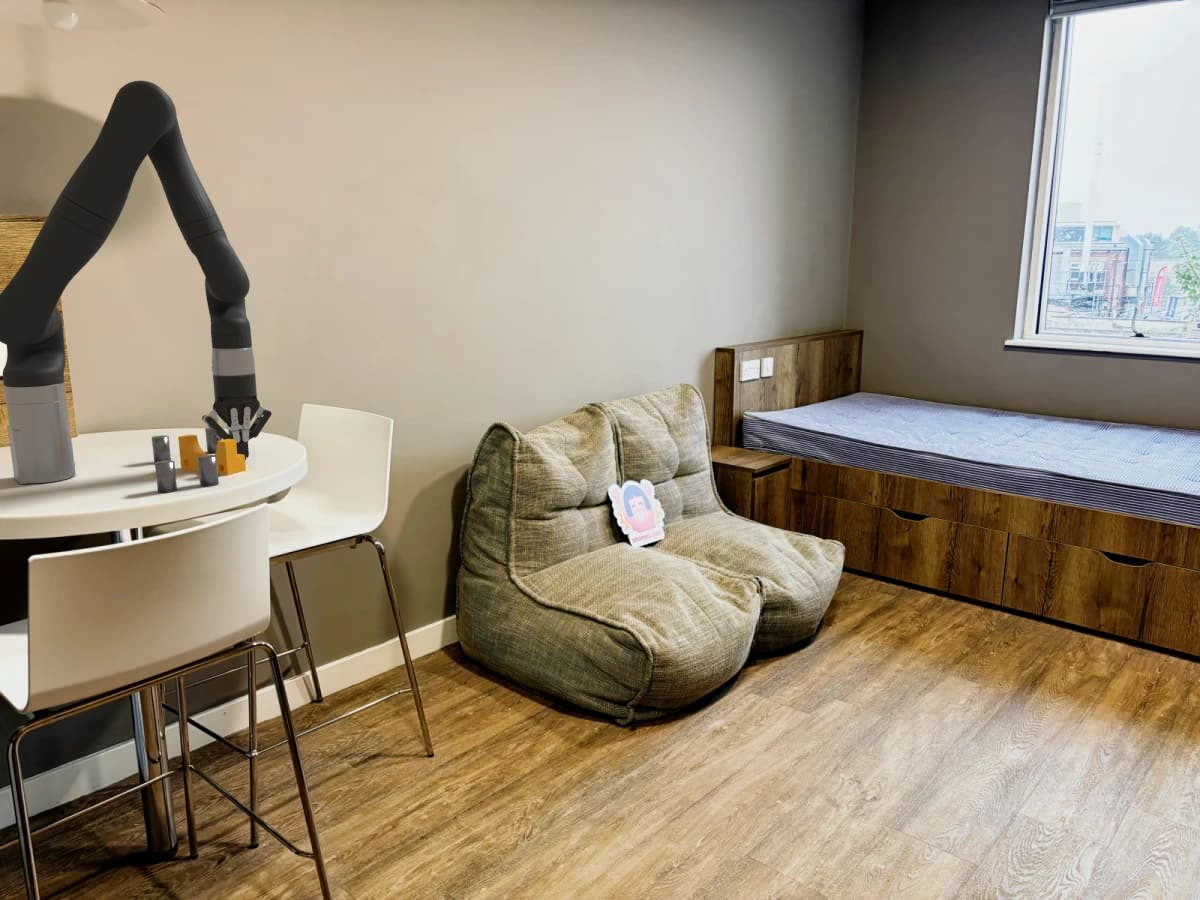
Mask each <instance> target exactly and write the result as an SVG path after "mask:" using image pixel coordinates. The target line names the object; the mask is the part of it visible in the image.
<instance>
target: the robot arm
mask: <svg viewBox="0 0 1200 900" xmlns="http://www.w3.org/2000/svg"><path fill="white" fill-rule="evenodd" d="M177 115H178V114H177V109H176V105H175V103H174V102H173V99H172V98H171V97H170V95H168V93H167V92H166V91H165V90H164V89H163V88H162V87H160V86H159V85H157V83H156V84H155V83H154V82H151V81H147V80H134V81H129V82H128V83H125V84H124V85H123V86H122V87H121V88H120V89H118V91H117V93H116V95H115V96H114V100H113V101H112V104H111V106H110V109H109V112H108V114H107V117H106V119H105V120H104V123H103V126H102V127H101V130H100V133H99V134H98V137H97V139H96V141H95V143H94V144H93V146H92V147H91V149H90V150H89V152H88V153H87V154H86V155H85V157H84V158H83V160H82V161H81V162H80V163H79V165H78V166H77V168H76V169H75V171H74V172H73V174H72V175H71V176H70V178H69V180H68V181H67V183H66V185H65V186H64V188H62V190H61V192H60V194H59V196H58V197H57V199H56V200H55V203H54V204H53V206H52V208H51V209H50V211H49V213H48V215H47V217H46V220H45V221H44V222H43V225H42V227H41V228H40V230H39V232H38V233H37V235H36V237H35V240H34V241H33V243H32V245H31V247H30V249H29V251H28V254H27V256H26V257H25V259H24V261H23V262H22V264H21V265H20V267H19V269H18V270H17V271H16V273H15V275H14V276H13V277H12V278H11V280H9V282H8V284H7V285H6V286H5V288H3V290H2V291H1V292H0V343H2V344H4V345H6V352H7V353H6V354H7V355H6V357H7V358H6V362H5V364H4V365H5V366H4V368H3V370H2V381H3V382H2V383H3V388H4V389H3V390H4V394H5V395H4V397H5V403H6V411H7V417H8V425H9V426H8V427H7V434H8V441H9V447H10V448H9V450H10V455H11V464H12V469H13V470H12V471H13V478H14V479H15V481H17V483H18V484H19V485H25V484H41V483H43V484H44V483H52V482H58V481H59V482H60V481H63V480H67V479H70V478H73V477H75V476H76V475H77V474H76V463H75V458H74V457H75V456H74V450H73V449H74V448H73V441H72V432H71V423H70V415H69V408H68V399H67V390H66V383H65V367H66V361H67V360H66V359H67V358H66V348H65V347H66V345H65V337H64V335H65V334H64V327H63V320H62V316H61V313H60V310H59V308H58V306H57V304H58V302H59V301H60V299H61V296H62V295H63V293H64V291H65V289H66V288H67V287H68V285H69V283H71V281H72V280H73V279H74V277H76V275H77V274H78V273H79V272H80V271H81V270H82V269H83V268H84V267H85V266H86V265H88V263H89V262H90V261H91V260H92V259H93V257H95V256H96V254H97V253H98V252H99V250H100V249H101V248H102V246H103V245H104V243H105V242H106V241H107V239H108V238H109V236H110V234H111V232H112V230H113V229H114V227H115V226H116V223H117V222H118V220H119V218H120V216H121V214H122V211H123V210H124V207H125V204H126V202H127V199H128V197H129V194H130V192H131V191H130V190H131V188H132V185H133V182H134V179H135V177H136V175H137V173H138V170H139V168H140V166H141V164H142V163H143V161H144V160H145V159H146V157H147V156H148V158H149V160H150V162H151V164H152V166H153V168H154V169H155V172H156V174H157V176H158V178H159V182H160V183H161V185H162V186H161V187H162V188H163V189H162V190H163V192H164V195H165V197H166V200H167V203H168V205H169V209H170V210H171V213H172V216H173V218H174V220H175V222H176V224H177V227H178V228H179V230H180V232H181V233H180V234H181V235H182V237H183V239H184V241H185V243H186V245H187V247H188V249H189V250H190V252H191V253H192V255H193V256H195V258H196V260H197V262H198V264H199V266H200V268H201V270H202V273H203V275H204V277H205V278H204V279H205V280H204V288H205V289H204V290H205V296H206V303H207V307H208V308H207V309H208V313H209V318H210V338H211V347H212V348H211V351H212V352H211V371H212V381H213V392H214V393H213V395H214V403H213V404H212V410H211V411H210V412H208V414H204V415H202V417H201V420H202V421H203V423H205V424H206V425H207V426H208V428H209V427H210V428H211V429H212V430H213V431H214V432H215V433H216V434H217V435H218V436H219V437H220V438H221V439H222V440H225V439H234V440H236V445H237V454H241V455H245V462H246V461H247V459H248V458H249V455H250V451H249V441H250V440H252V439H253V438H258V436H259V434H261V431H262V430H263V429H264V426H265V425H267V422H268V421H269V420H270V418H271V416H272V415H273V414H272V412H271V410H268V409H265V408H264V407H263V406H261V402H260V400H259V399H258V397H257V396H258V395H257V394H258V393H257V391H258V390H257V380H256V379H257V377H256V367H255V366H256V364H255V363H256V362H255V356H254V351H253V347H252V346H253V345H252V344H253V343H252V342H253V341H252V330H251V329H252V328H251V324H250V321H249V318H248V316H247V311H246V310H247V309H246V308H247V307H246V297H247V295H248V294H249V291H250V287H251V283H250V278H249V275H248V274H247V272H246V269H245V267H244V265H243V264H242V262H241V260H240V258H239V256H238V255H237V253H236V251H235V249H234V248H233V246H232V245H231V243H230V240H229V239H228V236H227V233H226V231H225V229H224V227H223V224H222V222H221V220H220V218H219V215H218V213H217V212H216V209H215V207H214V205H213V203H212V201H211V199H210V197H209V195H208V193H207V191H206V190H205V187H204V184H203V183H202V182H201V179H200V177H199V175H198V174H197V171H196V170H195V168H194V165H193V163H192V161H191V158H190V156H189V153H188V151H187V147H186V146H185V142H184V138H183V136H182V132H181V128H180V124H179V121H178V116H177ZM255 416H256V418H255V420H254V421H253V423H252V424H251V422H252V420H253V418H254V417H255ZM218 417H219V418H220V419H221V420H222V421H223V422H224V424H226V429H227V431H226V430H225V429H224V428H223V427H222V426H221V425H220V424H219V418H218Z"/></svg>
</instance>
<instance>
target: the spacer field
mask: <svg viewBox="0 0 1200 900" xmlns="http://www.w3.org/2000/svg"><path fill="white" fill-rule="evenodd" d="M204 430H205V441H206V452H207V454H206V455H204V456H199V457H198V465H199V472H198V474H199V485H200V486H201V487H215V486H218V485H219V484H220V483H219V474H218V469H217V458H216V455H215V453H216V450H217V441H221V440H223V439H221V438H220V437H219V436H218V435H217V434H216V433H215V432H214V431H213V430H212V429H211V428H210V427H209V426H208V427H206V428H205V429H204ZM151 444H152V453H153V456H152V457H153V462H154V467H155V477H156V479H155V480H156V485H157V486H156V487H157V493H160V494H168V493H170V494H171V493H173V492H177V490H178V487H177V486H178V485H177V475H176V465H175V460H172V456H171V447H170V437H169V435H153V436H151Z"/></svg>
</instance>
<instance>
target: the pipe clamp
mask: <svg viewBox="0 0 1200 900" xmlns="http://www.w3.org/2000/svg"><path fill="white" fill-rule="evenodd" d="M177 440H178V448H179V458H180V469H181V470H183V469H184V471H191V470H192V472H198V471H199V465H198V457H199V456H204V455H207V454H206V453H205V451H204V450H203V449H202V448H201V446H200V443H199V439H198V435H197V434H185V435H179V436H178V437H177ZM214 455H216V458H217V469H218V475H221V476H231V475H235V474H238V473H242V471H243V472H246V471H247V469H246V468H247V467H246V461H245V455H241V454H237V445H236V440H234V439H225V440H223V439H222V440H221V441H217V450H216V453H214Z"/></svg>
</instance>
